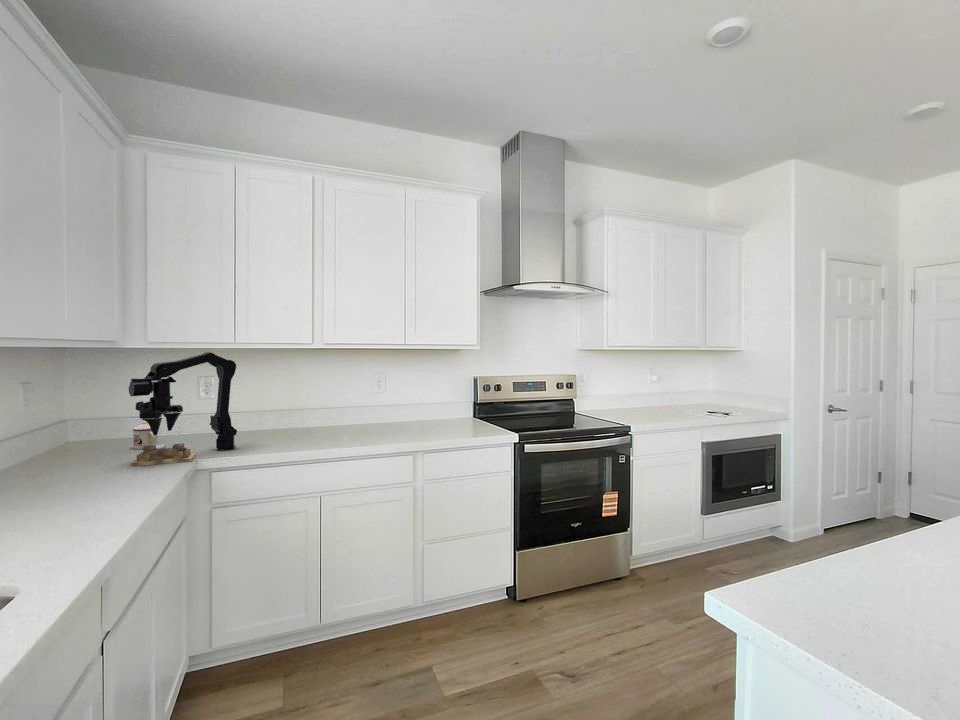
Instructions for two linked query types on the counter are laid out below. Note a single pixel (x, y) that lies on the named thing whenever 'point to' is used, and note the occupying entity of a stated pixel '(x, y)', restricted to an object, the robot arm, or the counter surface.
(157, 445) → the light blue block
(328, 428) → the counter surface
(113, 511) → the counter surface
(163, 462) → the jig
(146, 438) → the teacup with lid
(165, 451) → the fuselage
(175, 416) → the robot arm
